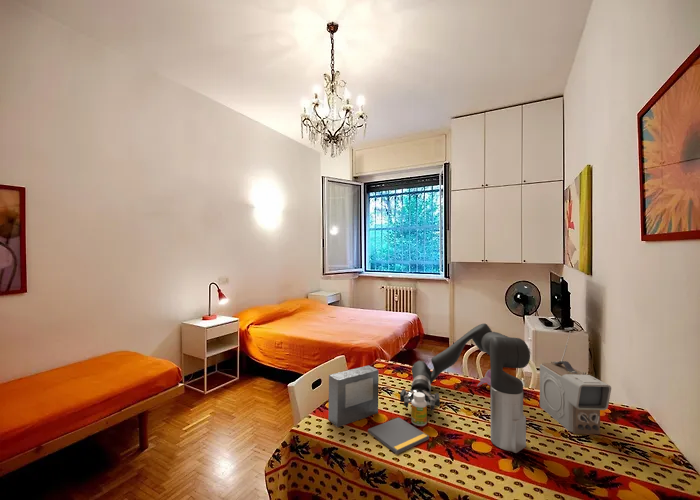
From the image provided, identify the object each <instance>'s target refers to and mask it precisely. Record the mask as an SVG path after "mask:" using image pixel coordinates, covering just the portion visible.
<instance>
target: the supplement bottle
mask: <svg viewBox="0 0 700 500" xmlns="http://www.w3.org/2000/svg"><path fill="white" fill-rule="evenodd" d="M413 398H414V399H413V400H412V402H411V407H410V408H411V410H410V411H411V412H410V413H411V416H410V417H411V418H410V421H411V423H412V424H413V425H415V426H418V427H424V426H426V425H427V423H428V405H427V402H426V401H425V394H423V393H421V392H415V393H414V394H413Z"/></svg>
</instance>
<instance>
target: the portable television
mask: <svg viewBox="0 0 700 500" xmlns="http://www.w3.org/2000/svg"><path fill="white" fill-rule="evenodd" d="M571 334H572V331H569V333H568V338H567V340H566V344H565V346H564V347H565V348H564V350H563V355H562V357H561V360H560V361H550V362H542V363H539V407H540V408H541V410H543V411H545V412H546V413H547V415H549V416H551V418H553V420H555V421H556V422H557V423H558V424H560V425H561V426H562V427H563V428H564V429H566V430H567V431H568V432H570V433H572V434H577V435H579V434H580V435H582V434H583V435H601V411H606V410H608V408H609V403H610V399H611V392H612V386H611V385H609V384H607V383H606V382H604V381H602V380H600V379H598V378H596V377H594V376H592V374H591V375H590V374H587V372H583V371H582V372H581V371H579V370H577V369H575V368H574V367H573V366H572V365H571V364H570V363H569V361H567V360H566V361H565V360H564V359H565V355H566V351H567V347H568V344H569V343H568V342H569V339H570V336H571Z"/></svg>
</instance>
